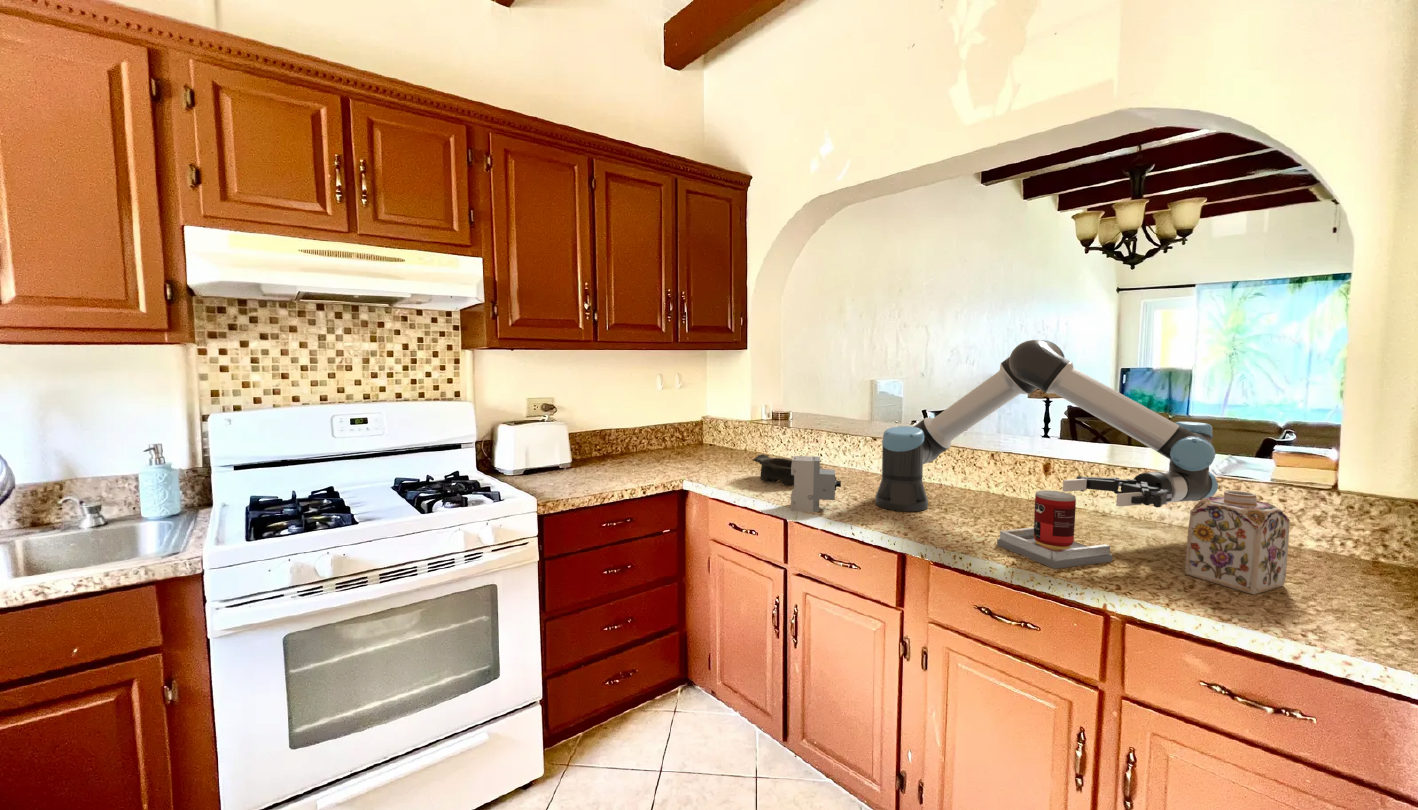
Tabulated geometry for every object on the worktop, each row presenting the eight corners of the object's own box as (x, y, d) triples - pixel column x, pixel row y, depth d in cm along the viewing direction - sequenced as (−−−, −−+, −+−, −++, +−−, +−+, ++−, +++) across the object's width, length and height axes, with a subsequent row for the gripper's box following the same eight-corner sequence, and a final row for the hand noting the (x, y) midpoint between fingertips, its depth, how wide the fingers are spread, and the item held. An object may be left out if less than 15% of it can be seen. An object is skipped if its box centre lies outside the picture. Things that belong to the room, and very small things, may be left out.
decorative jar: (1254, 596, 107) (1262, 502, 105) (1182, 574, 117) (1188, 489, 116) (1287, 586, 111) (1295, 496, 110) (1215, 566, 122) (1221, 483, 120)
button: (1051, 545, 134) (1051, 535, 134) (1077, 555, 128) (1078, 544, 128) (1027, 548, 133) (1027, 538, 132) (1053, 558, 126) (1053, 547, 126)
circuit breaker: (840, 513, 164) (841, 461, 162) (790, 510, 166) (791, 460, 165) (839, 506, 171) (840, 457, 170) (792, 504, 174) (792, 455, 172)
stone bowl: (739, 481, 204) (740, 456, 204) (777, 476, 223) (778, 452, 223) (799, 491, 188) (800, 463, 188) (834, 484, 207) (835, 458, 207)
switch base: (1050, 539, 140) (1050, 525, 140) (1112, 561, 125) (1113, 545, 124) (996, 545, 136) (997, 530, 135) (1054, 568, 120) (1055, 552, 120)
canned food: (1038, 533, 135) (1040, 488, 135) (1077, 541, 130) (1080, 494, 129) (1028, 541, 130) (1030, 494, 129) (1068, 549, 124) (1071, 500, 123)
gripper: (1214, 517, 126) (1142, 524, 120) (1107, 490, 150) (1043, 495, 144) (1217, 484, 125) (1145, 489, 119) (1110, 462, 149) (1045, 466, 143)
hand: (1089, 492), depth 132 cm, fingers open, 13 cm apart
